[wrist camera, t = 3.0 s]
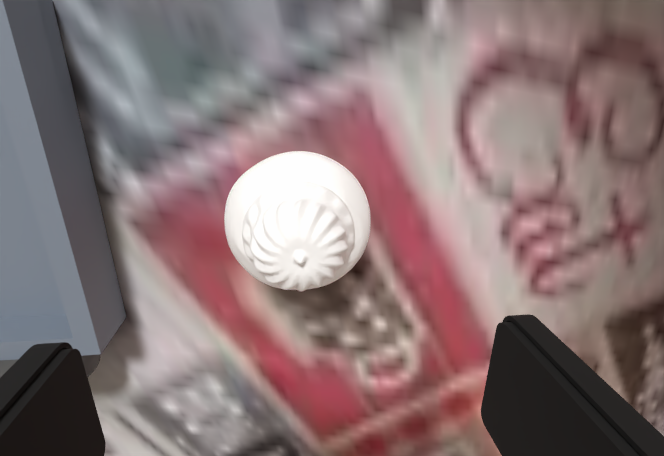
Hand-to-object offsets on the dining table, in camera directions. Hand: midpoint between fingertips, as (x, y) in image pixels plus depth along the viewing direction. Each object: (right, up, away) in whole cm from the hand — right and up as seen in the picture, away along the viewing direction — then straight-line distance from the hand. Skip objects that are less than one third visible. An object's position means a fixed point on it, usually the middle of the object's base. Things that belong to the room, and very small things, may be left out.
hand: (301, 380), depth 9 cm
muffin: (-1, +5, +11) cm, 12 cm away
